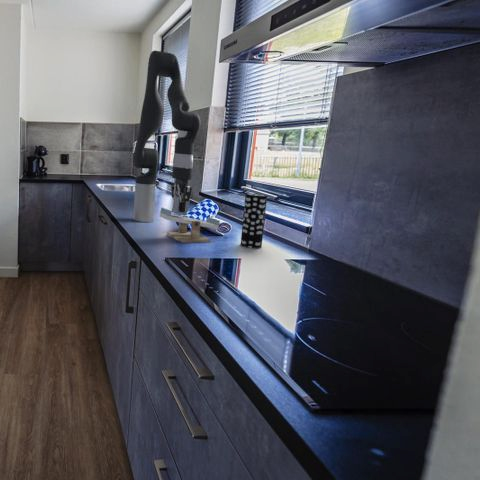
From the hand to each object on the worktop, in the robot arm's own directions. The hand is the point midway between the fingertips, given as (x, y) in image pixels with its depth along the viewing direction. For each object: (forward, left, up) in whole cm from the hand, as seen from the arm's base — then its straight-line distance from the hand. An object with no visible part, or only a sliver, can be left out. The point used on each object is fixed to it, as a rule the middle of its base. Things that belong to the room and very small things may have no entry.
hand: (179, 210), depth 166 cm
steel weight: (0, 0, -1) cm, 1 cm away
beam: (0, +5, -4) cm, 6 cm away
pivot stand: (0, +5, -11) cm, 12 cm away
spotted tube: (+15, +25, -11) cm, 31 cm away
